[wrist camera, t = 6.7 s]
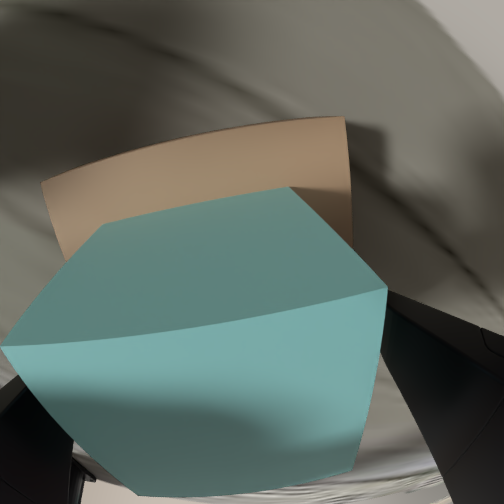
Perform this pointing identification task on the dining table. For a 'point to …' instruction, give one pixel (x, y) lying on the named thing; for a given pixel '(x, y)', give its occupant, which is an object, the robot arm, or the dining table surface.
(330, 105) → the dining table surface
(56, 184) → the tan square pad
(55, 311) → the teal block
